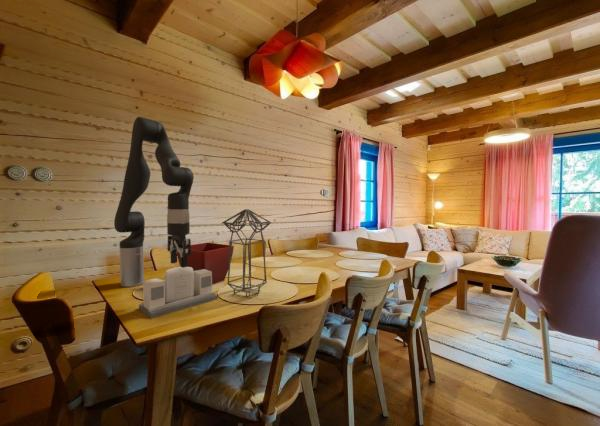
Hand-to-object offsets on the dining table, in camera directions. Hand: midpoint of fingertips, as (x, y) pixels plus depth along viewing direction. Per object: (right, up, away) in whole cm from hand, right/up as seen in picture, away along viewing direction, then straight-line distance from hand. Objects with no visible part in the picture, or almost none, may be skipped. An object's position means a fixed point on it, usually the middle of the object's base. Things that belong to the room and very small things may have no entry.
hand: (178, 265), depth 104 cm
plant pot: (0, -14, +29) cm, 32 cm away
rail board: (0, -15, +1) cm, 15 cm away
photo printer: (0, -13, +1) cm, 13 cm away
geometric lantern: (+23, -14, +12) cm, 30 cm away
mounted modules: (0, -13, +1) cm, 13 cm away
